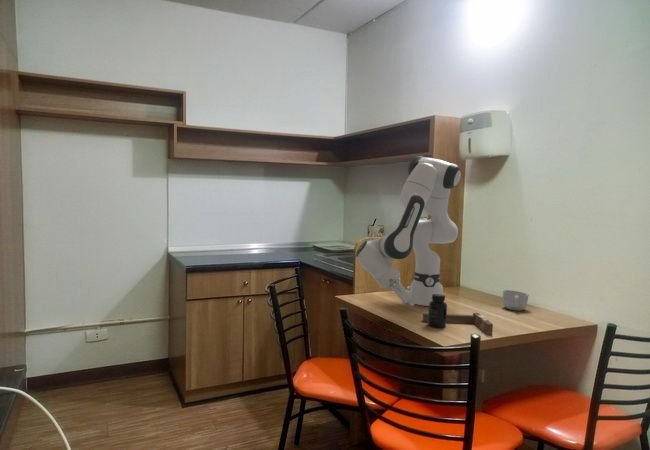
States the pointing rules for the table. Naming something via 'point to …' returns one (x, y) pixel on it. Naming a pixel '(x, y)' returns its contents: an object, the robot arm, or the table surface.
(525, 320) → the table surface
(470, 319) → the rack
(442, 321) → the supplement bottle
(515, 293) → the teacup
